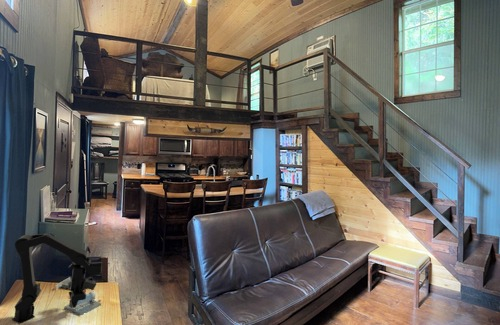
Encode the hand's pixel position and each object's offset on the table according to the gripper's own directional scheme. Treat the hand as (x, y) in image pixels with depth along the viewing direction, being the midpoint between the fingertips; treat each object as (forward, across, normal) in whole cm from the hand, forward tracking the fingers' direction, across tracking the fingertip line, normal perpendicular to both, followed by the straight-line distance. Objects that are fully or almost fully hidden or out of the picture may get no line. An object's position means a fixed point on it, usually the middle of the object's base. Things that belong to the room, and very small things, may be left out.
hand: (74, 307), depth 143 cm
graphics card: (+3, +31, -4) cm, 32 cm away
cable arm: (+1, +5, -4) cm, 7 cm away
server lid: (+3, +5, -5) cm, 7 cm away
